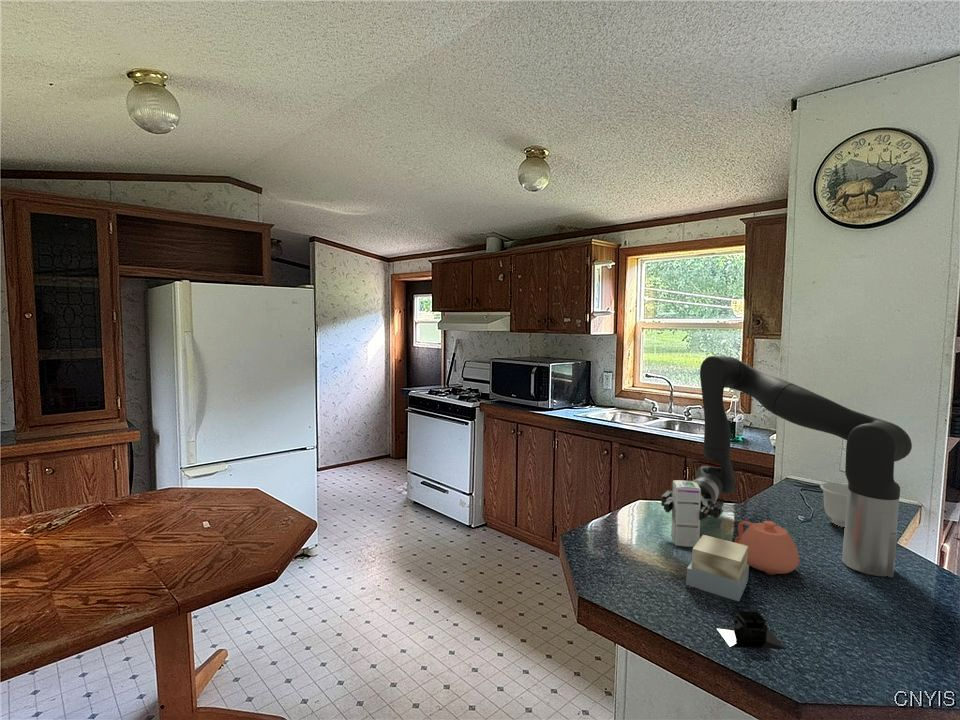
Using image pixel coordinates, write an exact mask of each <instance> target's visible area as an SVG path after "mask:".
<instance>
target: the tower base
mask: <svg viewBox="0 0 960 720" xmlns="http://www.w3.org/2000/svg"><path fill="white" fill-rule="evenodd" d="M749 570H750V566H749V565H748V564H747V565H746V568H745V570H744V572H743V574H742V576H741V579H740V581H737V580H733V579H730V578H727V577H723V576H720V575H716V574H713V573H709V572H706V571H703V570H699V569H696V568H692V561H691V562H690V563H689V565H688V566H687V567H686V576H685V577H686V579H685V585H686V586H688V585H689V586H688V587H692V588H694V587H695V588H694V589H697V588H698V590H701V591H704V592H707V593H711V594H714V595H716V596H719V597H724V598H726V599H730V600H731V601H732V600H733V601H736V602H740V600H741V597H743V594H744V592H745V589H746V588H747V585H746V584H748V583H749ZM747 582H748V583H747Z"/></svg>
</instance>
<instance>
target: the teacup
mask: <svg viewBox="0 0 960 720" xmlns="http://www.w3.org/2000/svg"><path fill="white" fill-rule="evenodd" d="M819 487H820V488H821V489H822V495H823V507H824V511H825V513H826V516H827V517H829V518H830V519H831V520H830V523H831V522H832V523H834V524H836V525H838V526H837V527H839V526H841V527H840V528H842V527H845V519H846V507H847V496H848V483H846V482H841V483H839V482H825V483H822V484H820V485H819ZM832 523H831V524H832ZM834 524H833V525H834ZM836 525H835V526H836Z"/></svg>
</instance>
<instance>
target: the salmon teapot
mask: <svg viewBox="0 0 960 720" xmlns="http://www.w3.org/2000/svg"><path fill="white" fill-rule="evenodd" d="M744 525H746V526H748V528H746V529H745V531H744ZM737 531H738V532H737V533H738V536H736V537H735V538H734V543H738V544H742V545H746V546H748V557H747V565H749V567H751V568H754V569H756V570H759V571H762V572H764V573H765V574H767V575H771V576H774V575H776V574H777V575H782V574H789V573H791V572H793V571H795V569H797V568H798V567H799V565H800V555H799V551H798V548H797V546H796V543H795V541H794V540H793V538H792V536H791V535H790V533H789V532H788V531H787V530H786V529H785V528H784V527H781V526H779V525H777V524H776V522H774V521H772V520H771V521H770V520H763V522H754V523H753V522H751V521H749V520H743V521H740V522H739V523H738V525H737Z"/></svg>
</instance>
